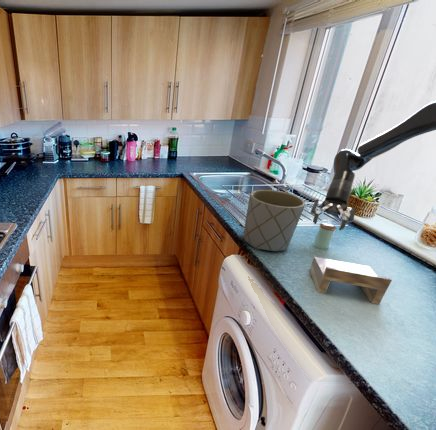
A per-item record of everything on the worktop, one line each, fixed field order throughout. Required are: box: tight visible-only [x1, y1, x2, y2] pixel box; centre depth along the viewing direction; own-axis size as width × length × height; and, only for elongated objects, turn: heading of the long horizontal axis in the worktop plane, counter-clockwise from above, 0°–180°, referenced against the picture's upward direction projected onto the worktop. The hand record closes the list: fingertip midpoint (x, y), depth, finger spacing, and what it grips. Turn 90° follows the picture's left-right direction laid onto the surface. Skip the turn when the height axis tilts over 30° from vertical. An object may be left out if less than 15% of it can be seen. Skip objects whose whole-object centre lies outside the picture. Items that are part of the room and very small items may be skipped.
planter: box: [242, 189, 306, 252], centre depth 115 cm, size 19×19×20 cm
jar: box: [312, 222, 337, 250], centre depth 115 cm, size 6×6×9 cm
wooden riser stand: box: [308, 256, 393, 305], centre depth 92 cm, size 16×12×9 cm
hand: (327, 226), depth 116 cm, fingers open, 8 cm apart
